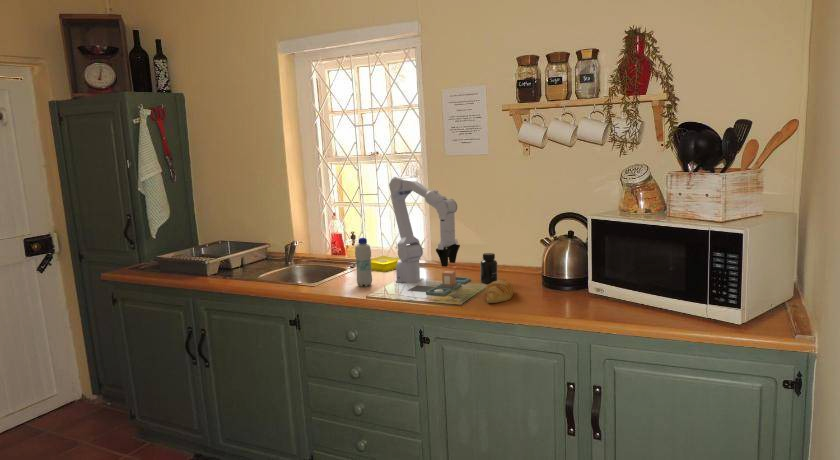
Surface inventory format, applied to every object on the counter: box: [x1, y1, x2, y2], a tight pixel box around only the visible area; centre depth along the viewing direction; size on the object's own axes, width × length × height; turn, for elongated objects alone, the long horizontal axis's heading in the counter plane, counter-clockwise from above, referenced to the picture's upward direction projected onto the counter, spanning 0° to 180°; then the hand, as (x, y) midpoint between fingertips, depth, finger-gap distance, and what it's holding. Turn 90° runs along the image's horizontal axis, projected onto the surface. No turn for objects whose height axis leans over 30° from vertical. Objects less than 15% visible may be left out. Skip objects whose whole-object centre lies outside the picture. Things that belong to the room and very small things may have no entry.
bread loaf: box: [485, 279, 515, 304], centre depth 209 cm, size 21×10×8 cm, turn 152°
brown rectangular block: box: [441, 270, 457, 287], centre depth 227 cm, size 4×4×6 cm
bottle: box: [354, 237, 373, 288], centre depth 236 cm, size 7×7×20 cm
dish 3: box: [456, 276, 471, 285], centre depth 236 cm, size 7×7×1 cm
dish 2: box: [436, 283, 462, 291], centre depth 227 cm, size 7×7×1 cm
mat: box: [407, 285, 437, 293], centre depth 226 cm, size 9×9×1 cm
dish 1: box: [425, 288, 452, 297], centre depth 219 cm, size 7×7×1 cm
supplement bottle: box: [480, 252, 498, 285], centre depth 233 cm, size 7×7×12 cm
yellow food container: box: [371, 255, 400, 273], centre depth 273 cm, size 15×15×5 cm
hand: (448, 264), depth 226 cm, fingers open, 7 cm apart
